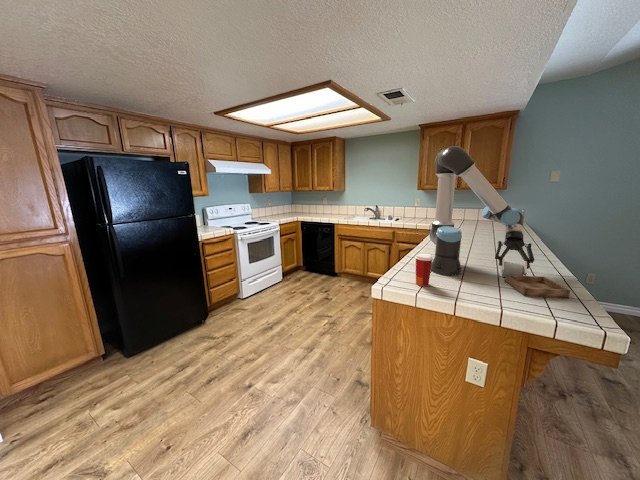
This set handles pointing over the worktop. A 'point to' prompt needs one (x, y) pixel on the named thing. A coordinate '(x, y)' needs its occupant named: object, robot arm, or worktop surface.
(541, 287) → the tray
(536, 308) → the worktop surface
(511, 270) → the ceramic mug
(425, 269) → the paper cup
